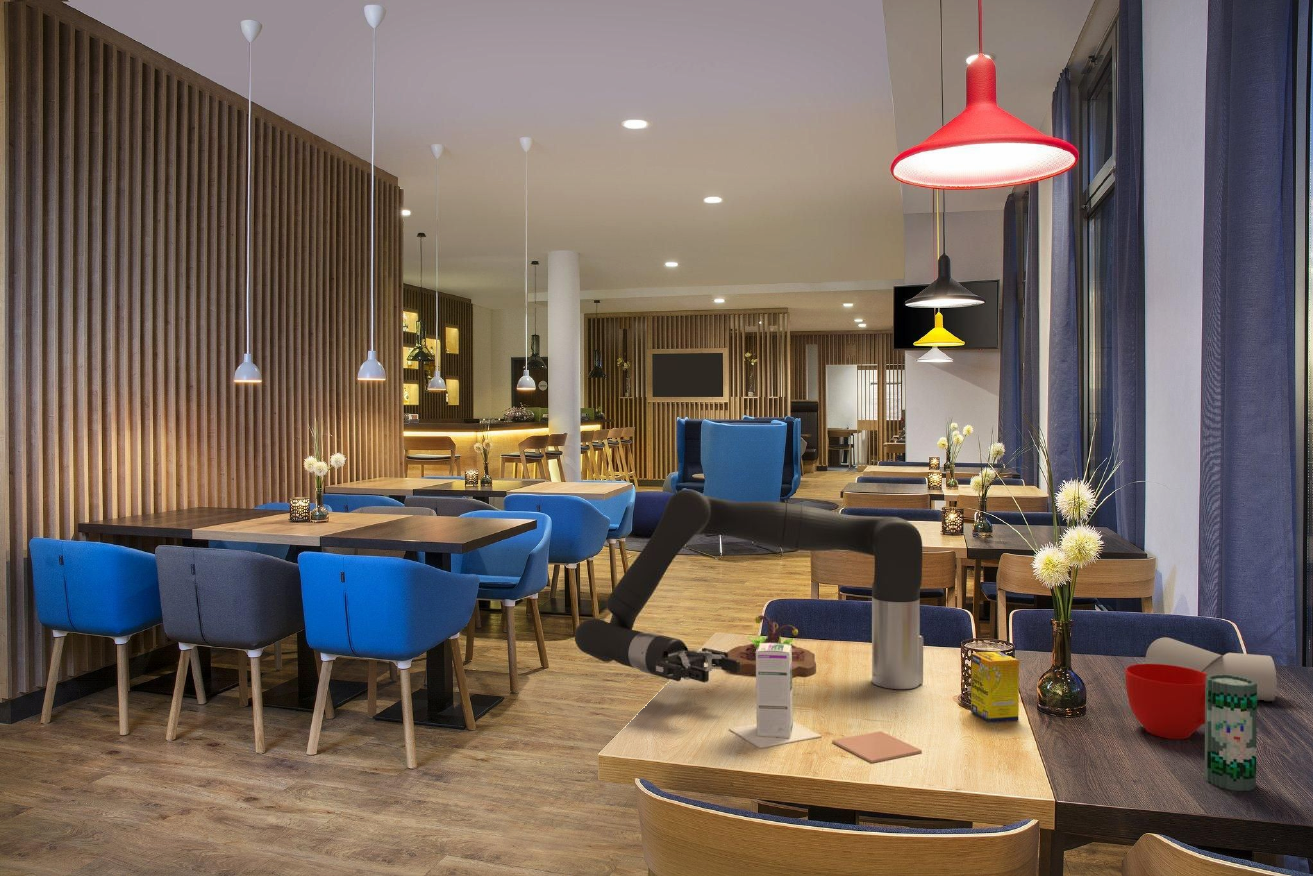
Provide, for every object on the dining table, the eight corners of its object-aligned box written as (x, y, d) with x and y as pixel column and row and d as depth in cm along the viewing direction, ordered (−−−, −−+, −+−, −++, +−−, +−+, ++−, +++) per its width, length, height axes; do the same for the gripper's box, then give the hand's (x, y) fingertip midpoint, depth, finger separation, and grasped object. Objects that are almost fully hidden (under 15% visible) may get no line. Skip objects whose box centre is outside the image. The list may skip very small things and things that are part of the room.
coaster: (880, 733, 155) (880, 731, 155) (921, 752, 146) (921, 750, 146) (832, 742, 150) (832, 740, 150) (871, 763, 141) (871, 760, 141)
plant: (727, 653, 209) (727, 604, 209) (814, 656, 207) (814, 607, 206) (721, 678, 190) (721, 624, 189) (817, 681, 187) (817, 627, 187)
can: (1210, 787, 132) (1211, 683, 131) (1201, 771, 137) (1202, 672, 137) (1259, 793, 130) (1260, 687, 129) (1248, 777, 135) (1250, 676, 135)
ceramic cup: (1205, 759, 143) (1206, 695, 142) (1108, 727, 158) (1108, 669, 157) (1254, 745, 149) (1255, 684, 148) (1155, 715, 164) (1156, 660, 163)
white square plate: (787, 719, 162) (787, 718, 162) (821, 737, 153) (821, 735, 153) (728, 729, 157) (728, 728, 157) (760, 748, 148) (760, 746, 148)
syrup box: (791, 738, 151) (791, 651, 151) (755, 736, 153) (755, 649, 152) (793, 727, 157) (793, 643, 157) (758, 725, 158) (758, 641, 158)
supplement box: (970, 712, 166) (970, 652, 165) (1000, 710, 167) (1000, 650, 167) (988, 723, 160) (989, 661, 160) (1019, 721, 161) (1019, 659, 161)
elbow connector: (1155, 691, 174) (1279, 703, 167) (1154, 635, 176) (1276, 644, 169) (1143, 687, 190) (1256, 698, 183) (1142, 636, 192) (1253, 644, 185)
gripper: (631, 641, 169) (696, 658, 157) (683, 629, 179) (748, 643, 167) (630, 682, 169) (696, 701, 157) (683, 667, 179) (748, 684, 168)
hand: (723, 671), depth 162 cm, fingers open, 8 cm apart
